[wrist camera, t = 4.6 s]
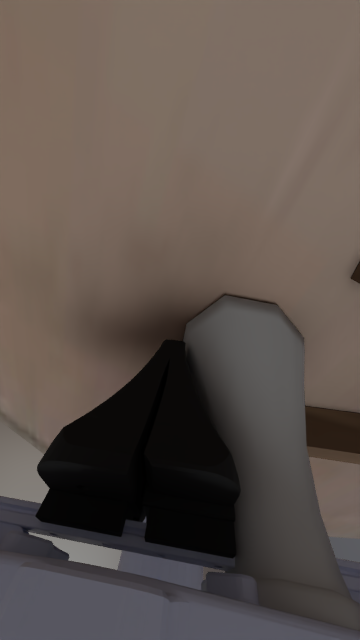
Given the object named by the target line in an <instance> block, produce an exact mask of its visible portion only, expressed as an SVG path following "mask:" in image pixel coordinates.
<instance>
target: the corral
mask: <svg viewBox="0 0 360 640" xmlns="http://www.w3.org/2000/svg"><path fill="white" fill-rule="evenodd" d="M351 279H353V280H354V281H356V282H358V283H360V263H359V265H358V266H357V268H356V270H355V272H354V274H353V276H352V277H351ZM305 421H306V444H307V451H308V456H309V457H315V458H322V459H328V460H335V461H342V462H348V463H355V464H360V414H359V413H352V412H344V411H337V410H329V409H322V408H315V407H307V406H305Z"/></svg>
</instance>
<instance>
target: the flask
mask: <svg viewBox="0 0 360 640" xmlns="http://www.w3.org/2000/svg"><path fill="white" fill-rule="evenodd" d="M183 341H184V342H185V343H186V346H185V350H186V357H187V362H188V366H189V370H190V374H191V377H192V380H193V383H194V385H195V388H196V391H197V393H198V395H199V398H200V400H201V402H202V404H203V406H204V408H205V410H206V412H207V414H208V416H209V418H210V420H211V421H212V423H213V425H214V427H215V428H216V430H217V432H218V433H219V435H220V436H221V438H222V440H223V441H224V443H225V444H226V446H227V447H228V449H229V450H230V452H231V454H232V457H233V460H234V463H235V466H236V470H237V473H238V477H239V482H240V488H241V492H240V496H239V497H238V499H237V501H236V503H235V504H234V508H235V522H234V530H235V542H236V556H235V568H233V569H231V570H229V571H225V573H234V574H243V575H247V576H251V577H253V578H254V579H255V581H256V582H257V590H258V599H259V605H260V606H264V607H268V608H272V609H276V610H280V611H283V612H287V613H291V614H295V615H299V616H303V617H307V618H311V619H315V620H319V621H323V622H327V623H330V624H334V625H338V626H342V627H346V628H350V629H354V630H358V631H360V604H359V603H358V602H356V601H354V600H353V599H352V597H351V595H350V593H349V590H348V588H347V586H346V584H345V581H344V579H343V577H342V575H341V572H340V569H339V566H338V563H337V561H336V558H335V555H334V552H333V549H332V546H331V543H330V540H329V537H328V534H327V531H326V529H325V526H324V523H323V520H322V517H321V514H320V509H319V504H318V499H317V495H316V490H315V485H314V480H313V475H312V470H311V466H310V461H309V456H308V451H307V444H306V421H305V397H304V337H303V336H302V335H301V334H300V332H299V331H298V330H297V329H296V328H295V326H294V325H293V324H292V323H291V321H290V320H289V319H288V318H287V316H286V315H285V314H284V313H283V311H282V310H281V309H280V308H279V306H278V305H275V304H269V303H264V302H259V301H253V300H248V299H243V298H238V297H232V296H227V295H224V296H223V297H222V298H220V299H219V300H218V301H216V302H215V303H214V304H212V305H211V306H210V307H208V308H207V309H206V310H204V311H203V312H202V313H200V314H199V315H198V316H196V317H195V318H194V319H192V320H191V321H190V322H188V323H187V324H186V329H185V334H184V339H183Z"/></svg>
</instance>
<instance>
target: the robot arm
mask: <svg viewBox="0 0 360 640" xmlns="http://www.w3.org/2000/svg"><path fill="white" fill-rule="evenodd" d="M185 346H186V343H185V342H184V341H175V340H165V341H164V342H163V344H162V345H161V347H160V348H159V350H158V351H157V352H156V354H155V355H154V356H153V357H152V358H151V360H150V361H149V362H148V363H147V364H146V365H145V367H144V368H143V369H142V370H141V371H140V372H139V373H138V374H137V375H136V376H135V377H134V378H133V379H132V380H131V381H130V382H128V383H127V384H126V385H125V386H124V387H123V388H122V389H120V390H119V391H118V392H117V393H115V394H114V395H113V396H112V397H110V398H109V399H108V400H106V401H105V402H103V403H102V404H100V405H99V406H97V407H96V408H95V409H93V410H92V411H90V412H89V413H87V414H85V415H84V416H82V417H80V418H79V419H77V420H75V421H74V422H72V423H70V424H69V425H67V426H65V427H63V429H62V430H61V431H60V433H59V434H58V435H57V436H56V438H55V439H54V441H53V442H52V443H51V445H50V447H49V448H48V450H47V451H46V453H45V454H44V456H43V458H42V459H41V461H40V462H39V464H38V466H37V471H38V474H39V475H40V477H41V478H42V479H43V481H44V482H45V483H46V484H47V485H48V487H49V488H50V489H49V491H48V493H47V495H46V497H45V499H44V501H43V502H42V504H41V503H36V502H30V501H25V500H19V499H14V498H8V497H3V496H0V640H360V631H358V630H354V629H350V628H346V627H342V626H338V625H334V624H330V623H327V622H323V621H319V620H315V619H311V618H307V617H303V616H299V615H295V614H291V613H287V612H283V611H280V610H276V609H272V608H268V607H264V606H260V605H259V599H258V590H257V582H256V581H255V579H254V578H253V577H251V576H247V575H243V574H234V573H219V572H208V573H207V574H206V580H203V566H204V567H209V568H214V569H219V570H224V571H229V570H231V569H233V568H235V556H236V542H235V530H234V522H235V508H234V504H235V503H236V501H237V499H238V497H239V496H240V492H241V488H240V482H239V477H238V473H237V470H236V466H235V463H234V460H233V457H232V454H231V452H230V450H229V449H228V447H227V446H226V444H225V443H224V441H223V440H222V438H221V436H220V435H219V433H218V432H217V430H216V428H215V427H214V425H213V423H212V421H211V420H210V418H209V416H208V414H207V412H206V410H205V408H204V406H203V404H202V402H201V400H200V398H199V395H198V393H197V391H196V388H195V385H194V383H193V380H192V377H191V374H190V370H189V366H188V362H187V357H186V350H185ZM28 532H32V533H37V534H42V535H47V536H52V537H57V538H62V539H67V540H73V541H77V542H83V543H88V544H93V545H98V546H103V547H108V548H113V549H118V550H122V553H121V557H120V561H119V566H118V570H114V569H109V568H104V567H100V566H94V565H90V564H84V563H79V562H73V561H68V559H69V554H68V553H66V552H64V551H62V550H60V549H58V548H57V547H55V546H54V545H53V543H52V542H51V541H49V540H45V539H43V538H39V537H36V536H33V535H29V533H28ZM336 561H337V563H338V566H339V569H340V572H341V575H342V577H343V579H344V581H345V584H346V586H347V588H348V590H349V593H350V595H351V597H352V599H353V600H354V601H356V602H358V603H359V604H360V562H354V561H349V560H343V559H337V558H336Z"/></svg>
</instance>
